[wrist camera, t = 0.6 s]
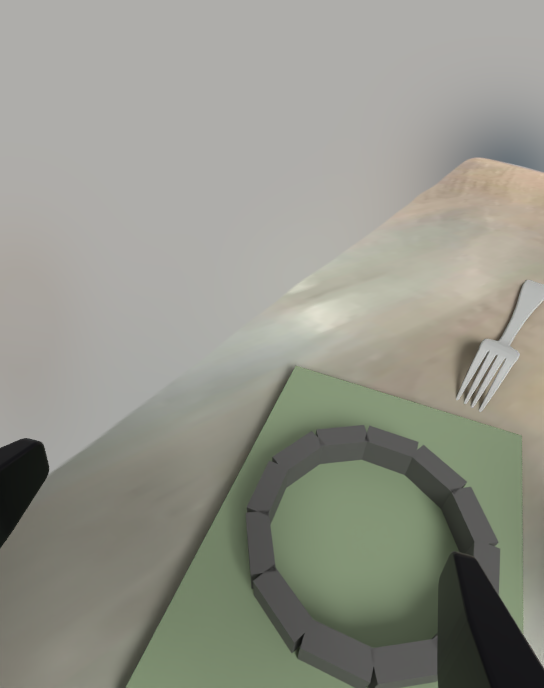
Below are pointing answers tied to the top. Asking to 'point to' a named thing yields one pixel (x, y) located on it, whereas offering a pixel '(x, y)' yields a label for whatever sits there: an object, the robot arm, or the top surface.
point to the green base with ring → (342, 546)
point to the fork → (502, 346)
